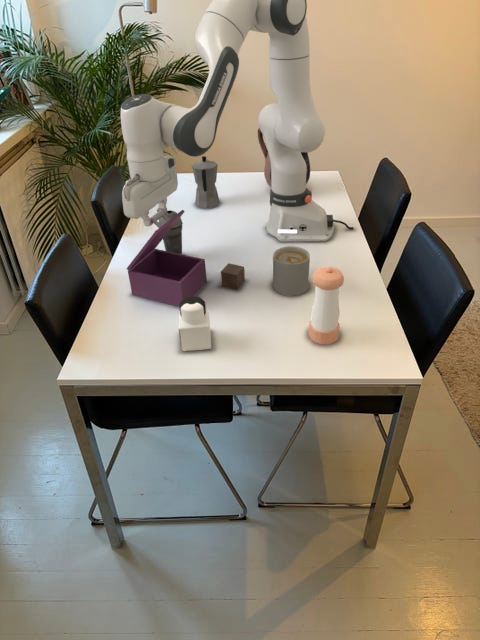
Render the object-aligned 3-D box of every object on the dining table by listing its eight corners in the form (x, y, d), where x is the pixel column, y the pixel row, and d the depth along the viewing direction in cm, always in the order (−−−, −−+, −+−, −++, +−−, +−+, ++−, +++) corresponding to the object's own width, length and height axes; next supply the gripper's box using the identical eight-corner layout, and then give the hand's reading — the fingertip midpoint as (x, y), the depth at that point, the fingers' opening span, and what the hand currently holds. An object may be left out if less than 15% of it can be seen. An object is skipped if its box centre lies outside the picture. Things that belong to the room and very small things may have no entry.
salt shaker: (344, 337, 122) (352, 269, 111) (321, 348, 119) (327, 280, 108) (325, 322, 127) (330, 256, 116) (302, 333, 124) (306, 266, 113)
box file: (207, 282, 144) (205, 258, 140) (183, 307, 135) (180, 283, 130) (158, 271, 150) (154, 248, 146) (132, 295, 140) (127, 271, 136)
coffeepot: (196, 197, 194) (191, 150, 183) (220, 196, 194) (217, 149, 183) (193, 214, 182) (189, 165, 171) (219, 213, 182) (216, 164, 171)
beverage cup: (182, 264, 153) (175, 203, 141) (160, 262, 154) (150, 201, 142) (189, 252, 159) (182, 192, 147) (167, 251, 160) (159, 191, 148)
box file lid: (184, 211, 133) (172, 199, 133) (157, 233, 124) (143, 220, 123) (155, 248, 145) (143, 236, 145) (128, 270, 136) (115, 258, 135)
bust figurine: (182, 333, 126) (176, 293, 118) (210, 331, 126) (206, 291, 119) (181, 351, 120) (176, 311, 113) (211, 349, 120) (207, 308, 113)
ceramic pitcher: (302, 201, 187) (305, 133, 172) (249, 195, 194) (248, 129, 179) (314, 184, 200) (317, 119, 185) (264, 179, 207) (263, 116, 192)
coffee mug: (307, 296, 137) (308, 265, 131) (270, 294, 138) (270, 263, 132) (309, 271, 147) (311, 241, 141) (276, 269, 149) (276, 239, 143)
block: (244, 281, 144) (244, 266, 141) (237, 290, 140) (236, 275, 138) (229, 278, 146) (228, 263, 143) (221, 286, 142) (220, 271, 139)
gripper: (134, 185, 114) (143, 239, 122) (179, 155, 128) (185, 206, 136) (111, 181, 116) (122, 235, 124) (158, 153, 130) (165, 203, 139)
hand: (155, 219), depth 130 cm, fingers closed on box file lid, 5 cm apart
